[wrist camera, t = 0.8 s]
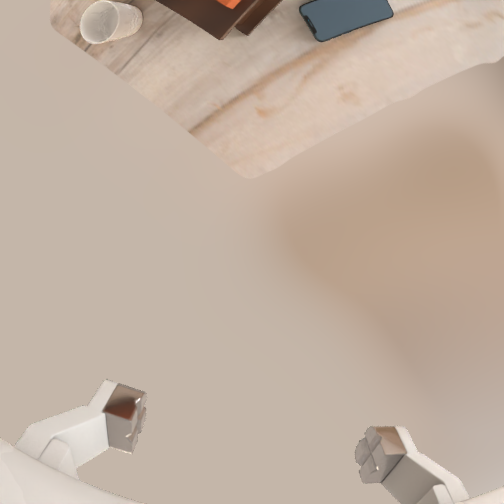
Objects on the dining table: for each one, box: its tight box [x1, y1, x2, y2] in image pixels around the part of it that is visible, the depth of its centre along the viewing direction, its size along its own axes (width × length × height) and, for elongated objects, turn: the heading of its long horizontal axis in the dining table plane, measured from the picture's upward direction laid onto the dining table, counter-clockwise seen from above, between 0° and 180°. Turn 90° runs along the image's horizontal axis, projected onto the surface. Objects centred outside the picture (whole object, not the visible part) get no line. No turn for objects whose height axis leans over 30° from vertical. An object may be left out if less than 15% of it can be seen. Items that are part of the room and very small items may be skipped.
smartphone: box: [299, 0, 394, 42], centre depth 38 cm, size 8×2×15 cm
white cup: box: [80, 0, 143, 44], centre depth 38 cm, size 8×8×10 cm
